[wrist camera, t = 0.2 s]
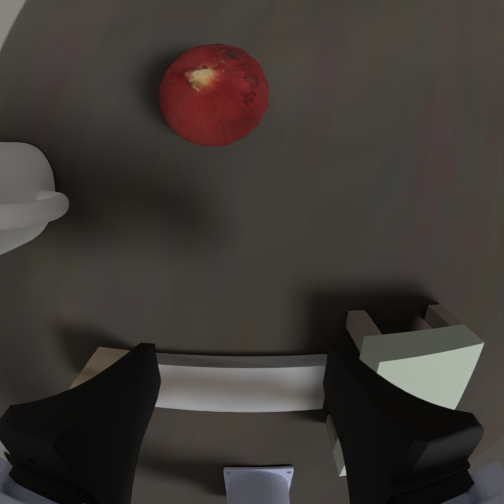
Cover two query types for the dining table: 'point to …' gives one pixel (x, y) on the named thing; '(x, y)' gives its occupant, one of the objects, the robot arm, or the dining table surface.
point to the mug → (26, 194)
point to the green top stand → (416, 360)
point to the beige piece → (229, 381)
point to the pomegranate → (214, 95)
